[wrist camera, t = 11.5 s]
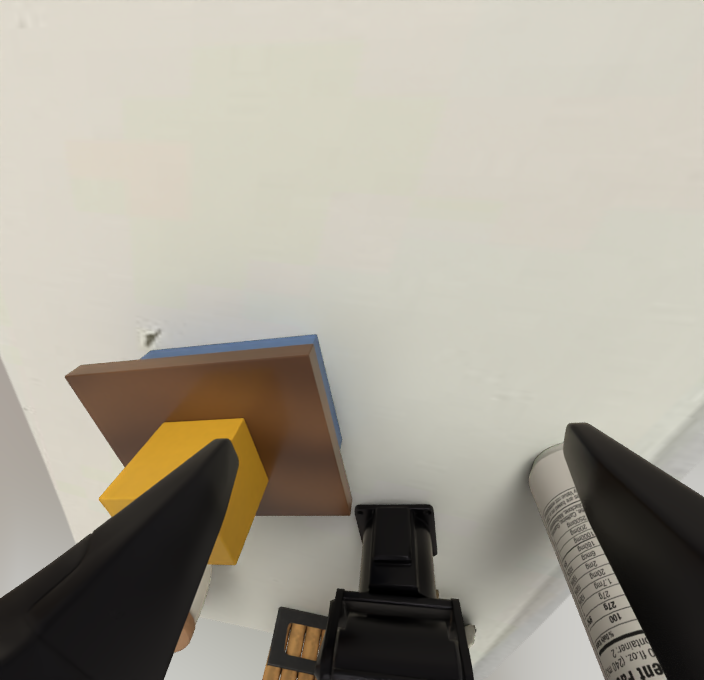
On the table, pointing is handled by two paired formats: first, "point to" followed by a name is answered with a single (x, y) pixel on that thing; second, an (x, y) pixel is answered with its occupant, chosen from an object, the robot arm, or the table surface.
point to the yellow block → (178, 446)
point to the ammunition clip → (295, 645)
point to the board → (231, 415)
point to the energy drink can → (590, 574)
